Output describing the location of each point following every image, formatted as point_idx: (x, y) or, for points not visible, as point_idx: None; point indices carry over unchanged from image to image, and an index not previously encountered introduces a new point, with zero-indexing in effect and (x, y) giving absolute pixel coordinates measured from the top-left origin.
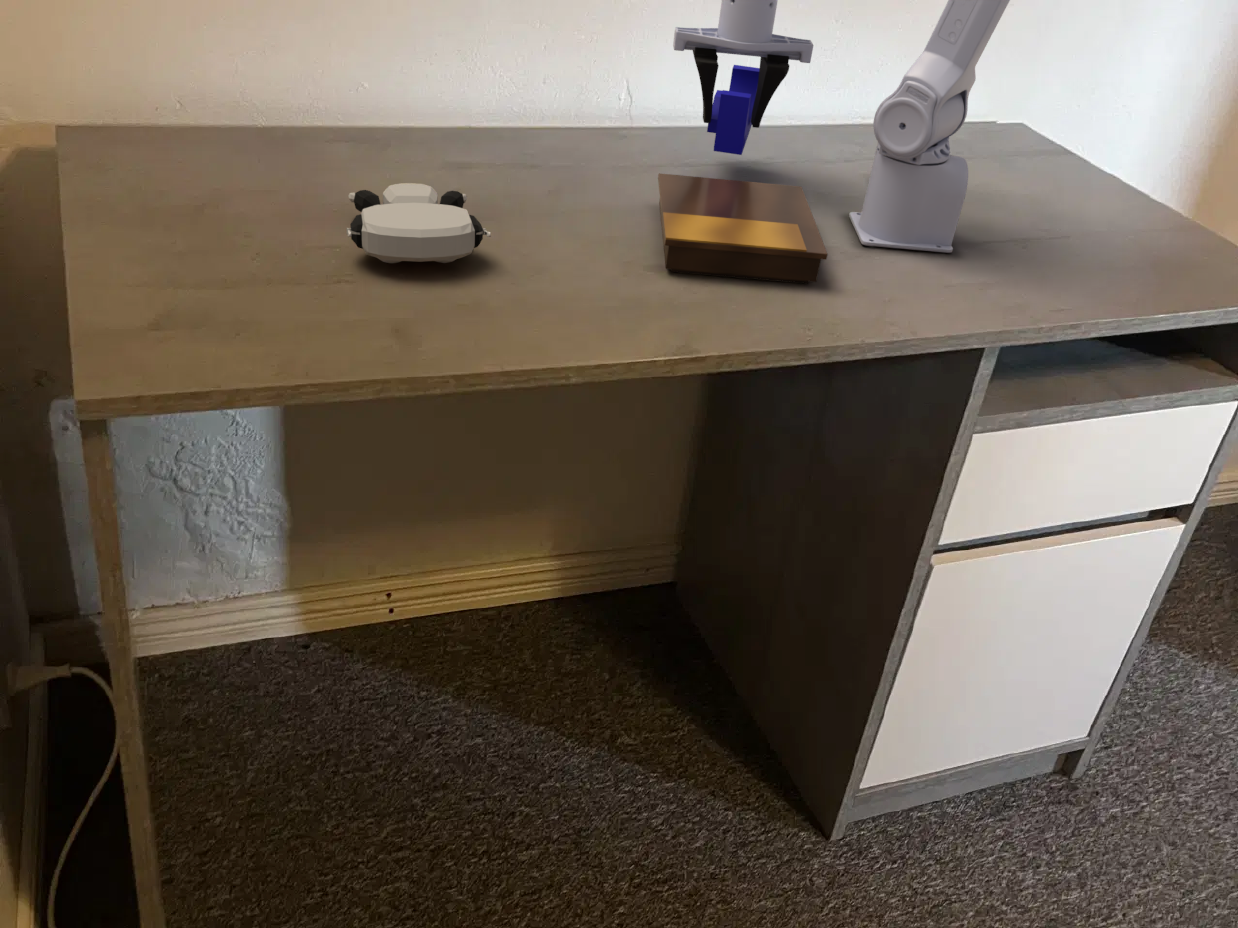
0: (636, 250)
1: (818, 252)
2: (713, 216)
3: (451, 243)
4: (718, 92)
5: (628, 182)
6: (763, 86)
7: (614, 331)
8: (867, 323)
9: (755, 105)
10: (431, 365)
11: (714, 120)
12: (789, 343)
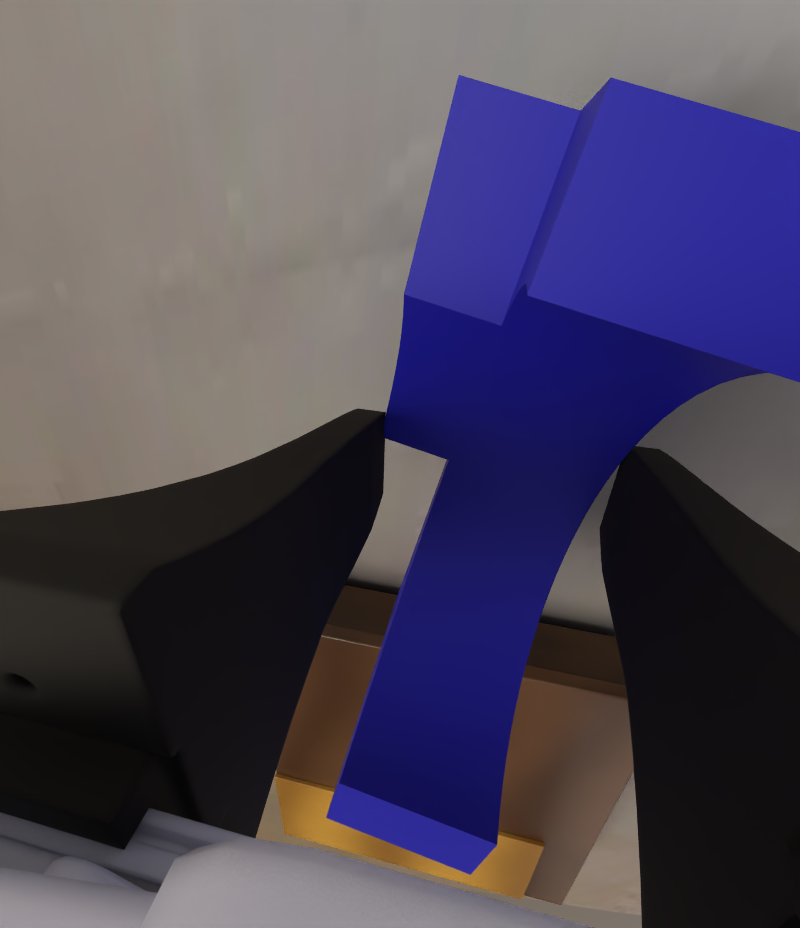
0: None
1: (545, 900)
2: None
3: None
4: (454, 168)
5: (211, 420)
6: (640, 791)
7: (262, 833)
8: (593, 887)
9: (637, 547)
10: None
11: (411, 444)
12: (461, 886)
